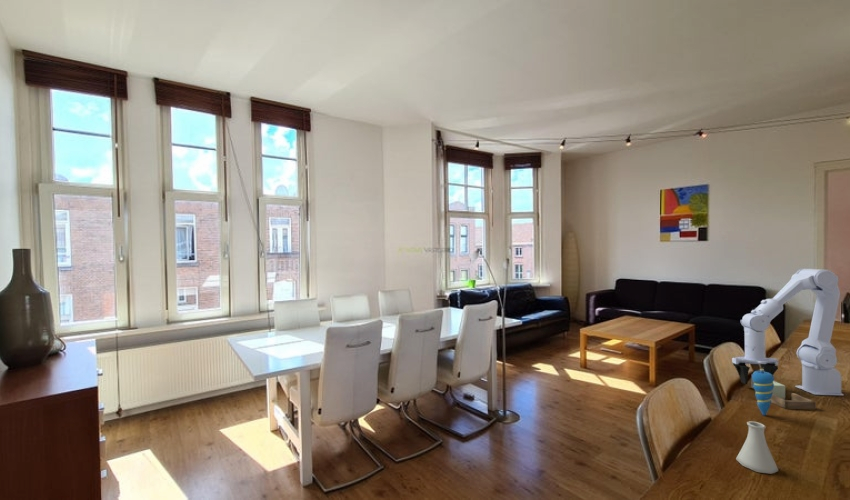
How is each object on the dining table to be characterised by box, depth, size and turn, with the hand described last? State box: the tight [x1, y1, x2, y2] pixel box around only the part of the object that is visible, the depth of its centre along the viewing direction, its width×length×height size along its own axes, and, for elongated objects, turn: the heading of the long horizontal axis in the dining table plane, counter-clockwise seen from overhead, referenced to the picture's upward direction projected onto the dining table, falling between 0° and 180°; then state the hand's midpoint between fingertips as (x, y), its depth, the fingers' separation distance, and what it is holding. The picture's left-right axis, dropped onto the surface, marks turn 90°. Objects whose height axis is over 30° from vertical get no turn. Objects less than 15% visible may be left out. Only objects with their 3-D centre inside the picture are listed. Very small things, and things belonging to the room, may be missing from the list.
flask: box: [735, 421, 779, 475], centre depth 90 cm, size 7×7×10 cm
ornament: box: [752, 368, 775, 416], centre depth 116 cm, size 5×5×15 cm
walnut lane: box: [771, 392, 817, 410], centre depth 124 cm, size 8×9×2 cm
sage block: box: [750, 373, 786, 400], centre depth 134 cm, size 10×5×5 cm, turn 175°
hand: (755, 383), depth 139 cm, fingers open, 7 cm apart
